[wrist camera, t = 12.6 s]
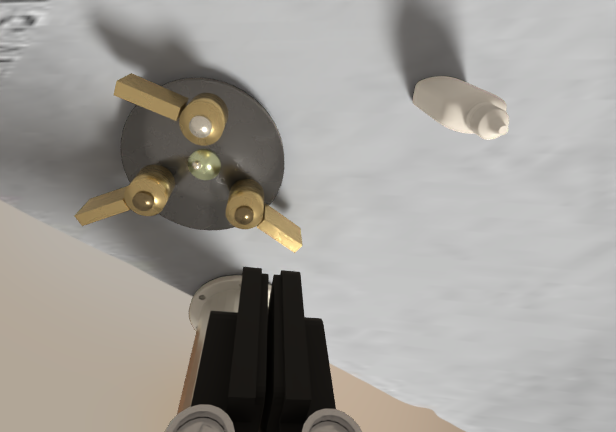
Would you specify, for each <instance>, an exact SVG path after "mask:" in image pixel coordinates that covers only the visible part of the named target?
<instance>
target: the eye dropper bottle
mask: <svg viewBox="0 0 616 432" xmlns="http://www.w3.org/2000/svg"><path fill="white" fill-rule="evenodd" d="M413 104H414V105H415V106H417V107H418V108H419V109H421V110H422V111H423V112H425V113H426V114H427V115H429V116H430V117H431V118H433V119H434V120H435V121H437V122H438V123H440V124H441V125H443V126H445V127H447V128H449V129H451V130H454V131H457V132H461V133H475V134H477V135H478V136H480V137H481V138H483V139H485V140H492V139H495V138H497V137H499V136H500V135H505V134H506V133H507V132H508V124H509V117H508V114H507V112H506V106H507V105H506V103H505V101H504V100H502V99H501V98H499V97H498V96H496V95H494V94H492V93H489V92H487V91H485V90H483V89H480V88H478V87H476V86H473V85H471V84H469V83H466V82H464V81H462V80H459V79H456V78H453V77H448V76H436V77H430V78H426V79H423V80H421V81H419V82H418V83H417V84H416V86H415V90H414V95H413Z"/></svg>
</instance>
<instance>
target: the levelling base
mask: <svg viewBox="0 0 616 432" xmlns="http://www.w3.org/2000/svg"><path fill="white" fill-rule="evenodd" d="M162 87H164V88H166V89H169V90H171V91H173V92H175V93H178V94H180V95H182V96H185V97H187V98H189V99H188V102H187V105H188V104H189V103H190V102H191V100H192V99H193V98H194V97H195V96H197V95H198V94H201V93H212V94H215V95H217V96H219V97H220V98H221V99H222V100H223V101H224V102H225V104H226V106H227V108H228V120H227V123H226V125H225V128H224V130H223V133H222V135H221V137H220V138H219V140H218V141H216V142H215V143H213V144H211V145H207V146H201V145H197V144H194V143H192V142H190V141H189V140H188V139H187V138H186V137H185V136H184V135H183V133H182V131H181V129H180V125H179V119H180V117H179V118H178V120H177V121H175V120H172V119H170V118H168V117H165V116H163V115H160V114H158V113H156V112H153V111H151V110H148V109H146V108H144V107H141V106H139V105H136V106H135V108H134V109H133V110H132V111H131V113H130V115H129V117H128V119H127V120H126V123H125V126H124V129H123V133H122V138H121V156H122V162H123V166H124V170H125V172H126V175H127V177H128V180H129V181H130V183H131V182H132V181H133V179H134V178H135V177H136V175H137V174H138V173H139V172H140V170H141V169H142V168H143V167H145V166H147V165H152V164H155V165H160V166H163V167H165V168H166V169H168V170H169V171H170V172H171V173H172V175H173V177H174V179H175V187H174V189H173V191H172V193H171V195H170V197H169V199H168V201H167V202H166V204H165V206H164V208H163V210H162V211H161V212H160V213H158V214H160V215H161V216H163V217H165V218H167V219H168V220H170V221H172V222H175V223H177V224H180V225H183V226H186V227H189V228H194V229H200V230H222V229H229V228H233V227H235V226H233V225H232V224H231V223H230V222H229V221H228V220H227V217H226V207H227V203H228V198H229V194H230V190H231V187H232V186H233V184H234V183H236V182H237V181H239V180H242V179H250V180H253V181H256V182H257V183H259V184H260V185H261V187H262V188H263V191H264V204H265V203H266V204H267V205H270V204H271V202H272V201H273V200H274V198H275V196H276V195H277V193H278V190H279V188H280V186H281V183H282V179H283V174H284V151H283V144H282V140H281V137H280V134H279V131H278V129H277V127H276V125H275V123H274V121H273V120H272V118H271V117H270V115H269V114H268V113H267V111H266V110H265V109H264V108H263V107H262V106H261V105H260V104H259V103H258V102H257V101H256V100H255V99H254V98H253V97H251V96H250V95H249V94H247V93H246V92H244V91H242V90H241V89H239V88H237V87H235V86H233V85H230V84H228V83H225V82H222V81H218V80H215V79H208V78H185V79H179V80H175V81H172V82H169V83H167V84H164V85H162ZM187 105H186V106H187Z"/></svg>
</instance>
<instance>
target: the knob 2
mask: <svg viewBox="0 0 616 432" xmlns="http://www.w3.org/2000/svg"><path fill="white" fill-rule="evenodd" d="M174 187H175V179H174V177H173V175H172V173H171V172H170V171H169V170H168V169H166V168H165V167H163V166H160V165H155V164H152V165H147V166H145V167H143V168H142V169H141V170H140V172H139V173H138V174H137V175H136V177H135V178H134V179H133V181H132V182H131V183H130V184H129V186H126V187H123V188H120V189H117V190H114V191H112V192H109V193H106V194H103V195H100V196H97V197H94V198H91V199H89V201H88V202H87V203H86V204H85V205H84V206H83V207H82V208H81V209H80V210H79V211H78V212H77V214H76V215H75V217H76V219H77V220H78V221H79V223H80V224H81V225H82V226H84V225H87V224H90V223H93V222H96V221H99V220H102V219H105V218H108V217H111V216H114V215H116V214H119V213H122V212H125V211H128V210H130V209H131V210H132V211H134V212H135V213H137V214H139V215H143V216H153V215H156V214H158V213H160V212H161V211H162V210H163V208H164V206H165V204H166V202H167V201H168V199H169V197H170V195H171V193H172V191H173V189H174Z"/></svg>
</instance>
